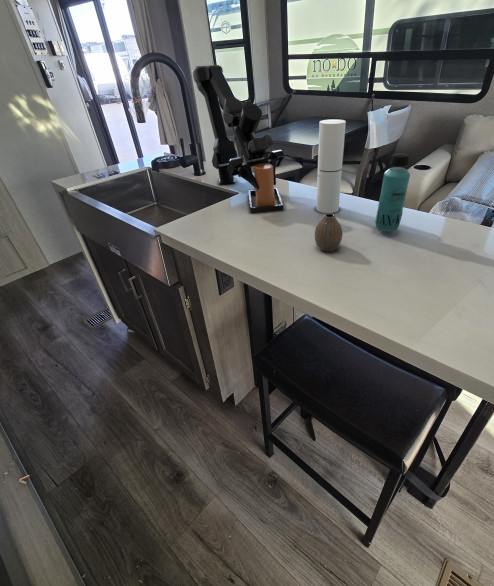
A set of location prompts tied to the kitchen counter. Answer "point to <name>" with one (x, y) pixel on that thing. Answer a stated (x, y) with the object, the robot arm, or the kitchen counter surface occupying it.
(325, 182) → the cylindrical container
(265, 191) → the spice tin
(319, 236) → the vase
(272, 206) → the black rectangular frame
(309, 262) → the kitchen counter surface
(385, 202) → the beverage bottle
